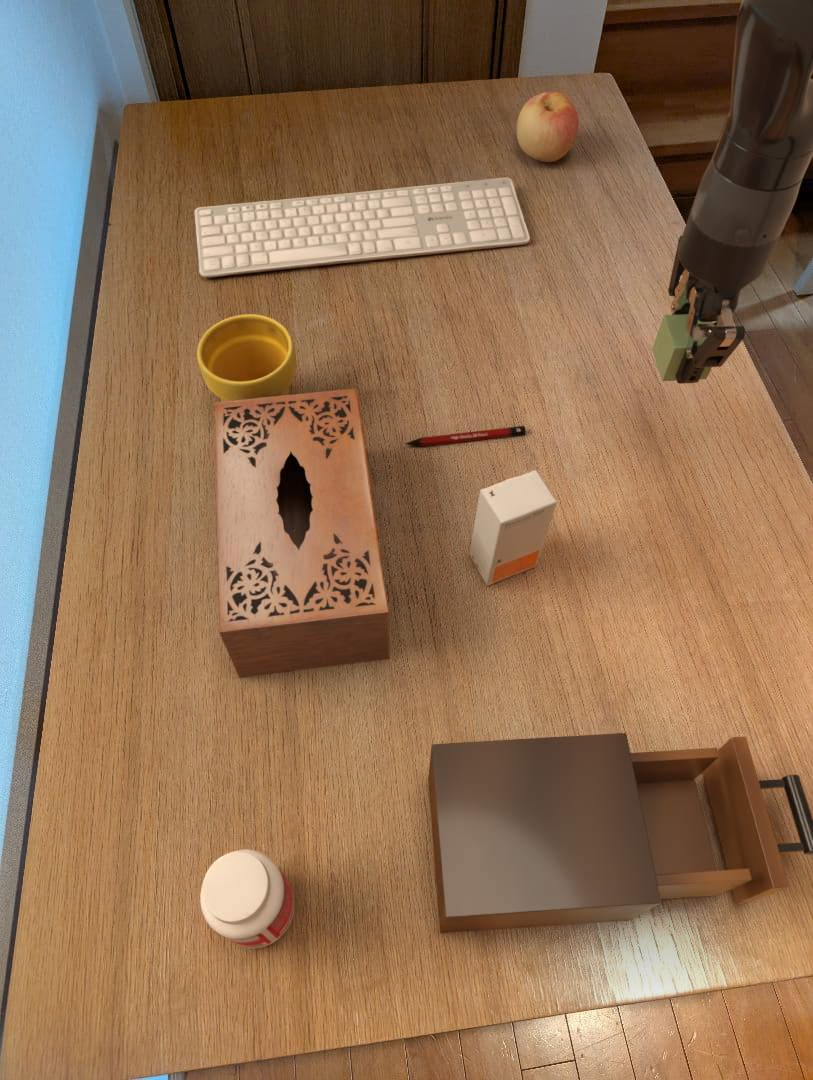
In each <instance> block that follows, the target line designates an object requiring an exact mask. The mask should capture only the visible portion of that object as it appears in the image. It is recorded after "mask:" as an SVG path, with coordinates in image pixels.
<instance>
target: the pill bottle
mask: <svg viewBox="0 0 813 1080" xmlns="http://www.w3.org/2000/svg"><path fill="white" fill-rule="evenodd" d="M199 901H200V908H201V913H202V915H203V917H204V920H205V921H206V923H207V924H208V926H209V927H210V928H211V929H212V930H214V932H216V933H217V934H218V935H220V936H222V937H224V938H225V939H227V940H228V941H231V942H232V943H234V944H236V945H237V946H240V947H242V948H245V949H261V948H266V947H268V946H270V945H272V944H274V943H275V942H277V941H278V940H279V939H280V938H282V936H283V935H285V933H286V932H287V931H288V930H289V927H290V926H291V923H292V921H293V918H294V915H295V909H296V907H295V906H296V898H295V893H294V890H293V888H292V885H291V883H290V882H289V879H287V877H286V876H285V874H284V873H283V872H282V870H281V869H280V868H279V866H278V864H276V862H275V861H274V860H273V859H272V858H270V857H269V856H268V855H266V854H265V853H263V852H261V851H258V850H254V849H247V848H246V849H244V848H243V849H238V850H234V851H231V852H228V853H226V854H223V855H221V856H220V857H218V858H217V859H216V860H215V861H214V862H212V864H211V865H210V867H209V868H208V869H207V871H206V873H205V875H204V878H203V882H202V885H201V889H200V897H199Z"/></svg>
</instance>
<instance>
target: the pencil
mask: <svg viewBox="0 0 813 1080" xmlns="http://www.w3.org/2000/svg"><path fill="white" fill-rule="evenodd" d="M524 435H526V426H525V425H520V426H519V425H518V426H509V427H501V428H493V429H483V430H475V431H467V432H458V433H449V434H440V435H432V436H423V437H422V436H421V437H419V438H416V439H414V440H411V441H408V442H406V443H404V445H409V446H415V447H416V446H417V447H430V446H436V445H445V444H447V445H448V444H455V443H462V442H472V441H480V440H488V439H489V440H490V439H496V438H506V437H514V436H524Z"/></svg>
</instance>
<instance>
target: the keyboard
mask: <svg viewBox="0 0 813 1080" xmlns="http://www.w3.org/2000/svg"><path fill="white" fill-rule="evenodd" d="M194 221H195V223H194V224H195V234H196V235H195V237H196V243H197V244H196V247H197V259H198V272H199V273H198V274H199V276H201V277H202V278H204V279H205V278H209V279H210V278H217V277H225V276H234V275H235V276H236V275H245V274H252V273H262V272H271V271H280V270H290V269H299V268H300V269H301V268H309V267H310V268H311V267H319V266H327V265H329V266H330V265H336V264H337V265H338V264H346V263H347V264H348V263H358V262H366V261H377V260H387V259H396V258H407V257H416V256H417V257H418V256H426V255H435V254H436V255H437V254H446V253H454V252H455V253H456V252H464V251H466V252H467V251H474V250H475V251H476V250H485V249H486V250H487V249H493V248H494V249H495V248H503V247H513V246H523V245H524V246H525V245H527V244H529V243H530V240H531V235H530V233H529V230H528V227H527V224H526V221H525V218H524V214H523V211H522V208H521V205H520V202H519V199H518V195H517V192H516V188H515V184H514V181H513V180H512V178H510V177H498V178H489V179H479V180H469V181H468V180H467V181H457V182H449V183H439V184H438V183H437V184H427V185H416V186H407V187H399V188H397V187H396V188H388V189H387V188H385V189H377V190H369V191H368V190H367V191H358V192H357V191H356V192H348V193H336V194H327V195H315V196H305V197H295V198H286V199H284V198H283V199H276V200H275V199H274V200H263V201H262V200H261V201H253V202H242V203H231V204H221V205H211V206H199V207H197V208H195V209H194Z"/></svg>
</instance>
